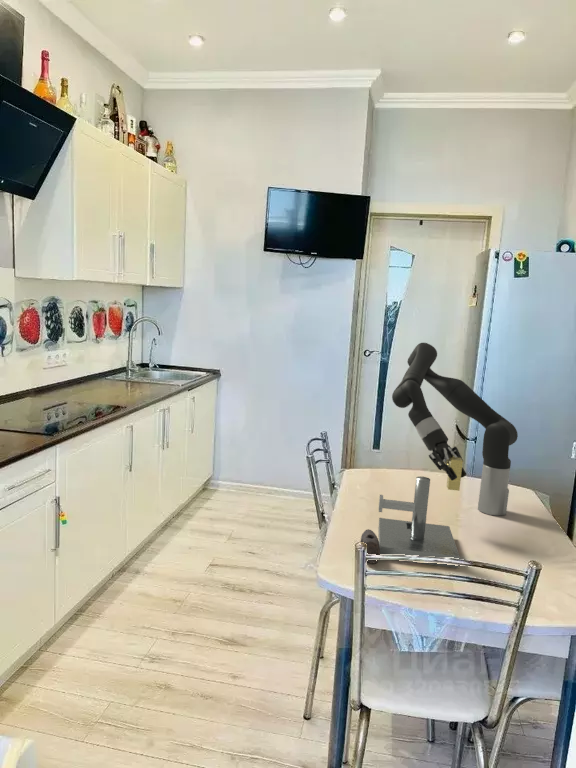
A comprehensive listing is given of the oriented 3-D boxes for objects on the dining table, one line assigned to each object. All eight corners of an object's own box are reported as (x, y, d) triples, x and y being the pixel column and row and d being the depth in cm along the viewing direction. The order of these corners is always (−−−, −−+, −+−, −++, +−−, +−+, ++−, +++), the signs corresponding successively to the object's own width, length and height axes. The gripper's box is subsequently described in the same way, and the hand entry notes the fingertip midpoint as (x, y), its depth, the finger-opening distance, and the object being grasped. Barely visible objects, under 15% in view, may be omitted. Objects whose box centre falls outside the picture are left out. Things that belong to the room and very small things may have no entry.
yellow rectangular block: (457, 487, 181) (460, 457, 180) (459, 490, 178) (462, 460, 176) (446, 486, 182) (449, 456, 180) (447, 489, 178) (451, 459, 177)
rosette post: (447, 536, 175) (455, 470, 172) (458, 568, 153) (467, 492, 150) (375, 527, 178) (381, 462, 175) (375, 557, 157) (382, 483, 154)
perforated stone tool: (358, 543, 166) (360, 521, 165) (375, 545, 165) (377, 523, 164) (360, 566, 151) (362, 542, 150) (379, 568, 150) (382, 544, 150)
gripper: (436, 437, 192) (463, 479, 185) (411, 442, 182) (438, 487, 175) (451, 425, 187) (479, 468, 180) (426, 429, 178) (455, 475, 171)
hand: (459, 477), depth 178 cm, fingers closed on yellow rectangular block, 5 cm apart
